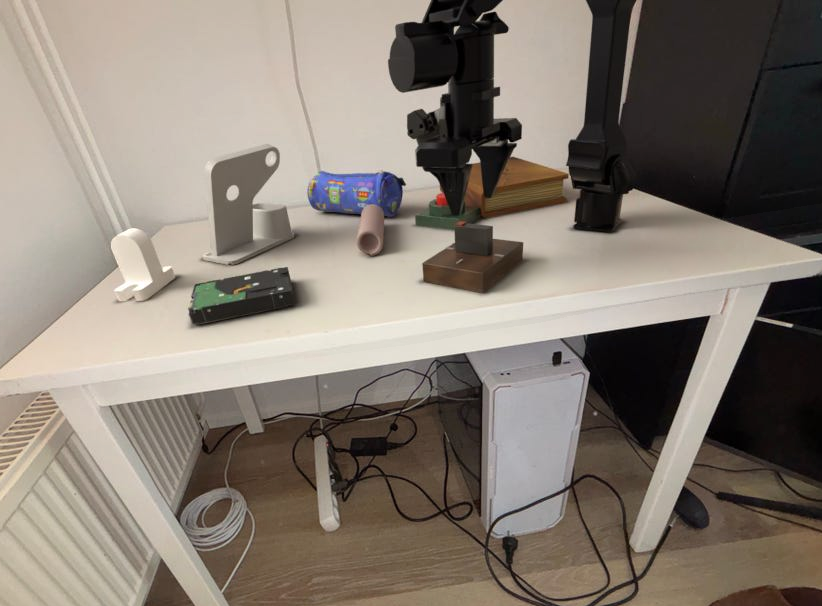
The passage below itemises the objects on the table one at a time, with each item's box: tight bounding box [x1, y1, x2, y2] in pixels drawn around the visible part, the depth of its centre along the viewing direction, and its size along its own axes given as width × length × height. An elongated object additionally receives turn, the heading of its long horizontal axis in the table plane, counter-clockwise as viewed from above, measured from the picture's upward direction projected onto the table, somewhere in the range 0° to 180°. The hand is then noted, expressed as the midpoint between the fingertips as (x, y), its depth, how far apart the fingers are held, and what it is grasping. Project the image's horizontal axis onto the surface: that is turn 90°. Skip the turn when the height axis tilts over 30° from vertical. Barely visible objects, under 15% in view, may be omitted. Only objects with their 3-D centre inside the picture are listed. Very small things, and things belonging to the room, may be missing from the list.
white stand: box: [110, 227, 176, 302], centre depth 81 cm, size 5×10×10 cm, turn 170°
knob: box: [453, 221, 494, 256], centre depth 72 cm, size 6×2×4 cm, turn 52°
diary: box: [439, 156, 570, 219], centre depth 105 cm, size 23×19×6 cm
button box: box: [414, 198, 481, 231], centre depth 96 cm, size 10×8×4 cm
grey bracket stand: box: [201, 143, 295, 266], centre depth 93 cm, size 17×10×18 cm, turn 145°
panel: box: [421, 238, 524, 294], centre depth 74 cm, size 10×13×3 cm
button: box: [435, 192, 448, 205], centre depth 94 cm, size 4×4×2 cm
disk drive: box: [187, 266, 295, 325], centre depth 73 cm, size 10×3×15 cm
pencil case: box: [306, 169, 407, 218], centre depth 107 cm, size 22×9×10 cm, turn 58°
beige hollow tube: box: [355, 204, 385, 257], centre depth 91 cm, size 5×5×18 cm
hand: (472, 206), depth 69 cm, fingers open, 9 cm apart
